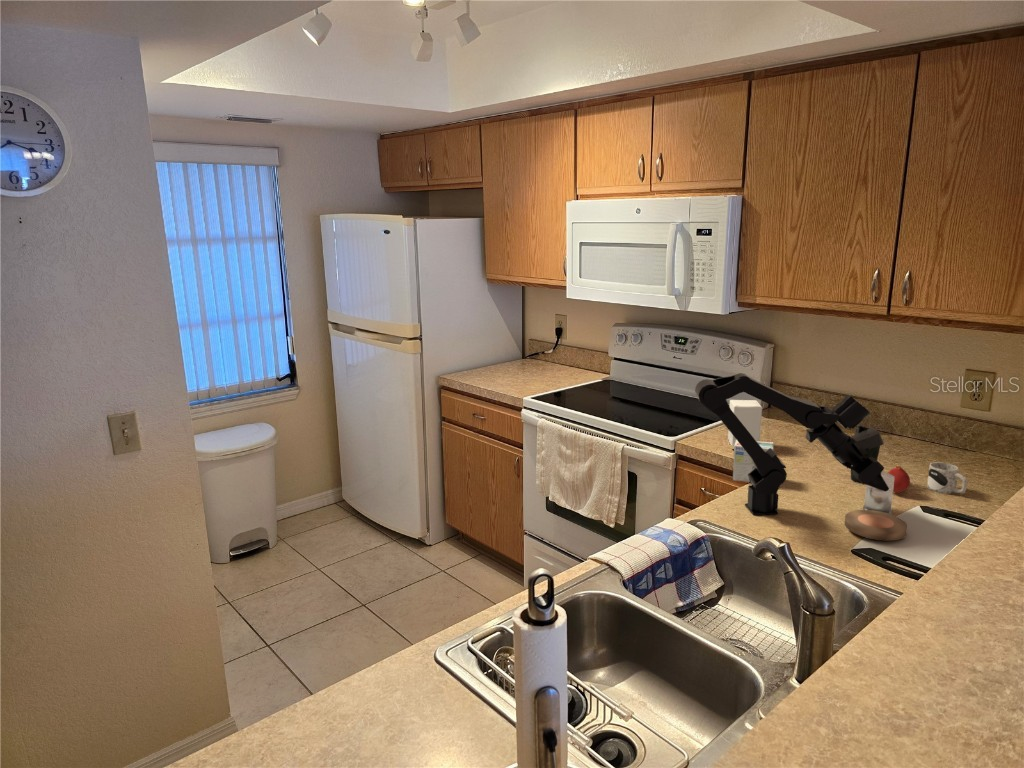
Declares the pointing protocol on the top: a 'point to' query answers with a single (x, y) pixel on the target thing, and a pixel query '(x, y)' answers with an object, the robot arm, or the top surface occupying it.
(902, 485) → the onion
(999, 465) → the top surface
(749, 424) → the supplement box
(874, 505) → the canister
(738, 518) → the top surface
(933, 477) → the mug
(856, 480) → the cup
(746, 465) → the light bulb box
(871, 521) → the turntable
